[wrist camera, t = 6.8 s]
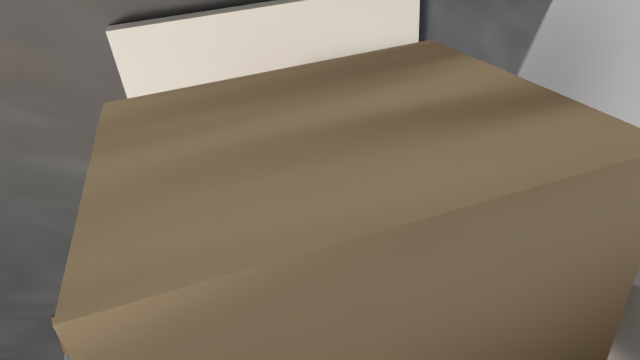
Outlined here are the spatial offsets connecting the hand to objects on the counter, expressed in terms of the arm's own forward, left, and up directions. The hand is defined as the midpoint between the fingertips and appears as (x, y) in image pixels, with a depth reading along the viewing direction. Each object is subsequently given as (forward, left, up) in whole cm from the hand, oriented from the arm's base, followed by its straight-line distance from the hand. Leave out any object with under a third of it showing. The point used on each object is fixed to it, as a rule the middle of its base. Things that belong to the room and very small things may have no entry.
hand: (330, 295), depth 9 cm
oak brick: (0, 0, -2) cm, 2 cm away
